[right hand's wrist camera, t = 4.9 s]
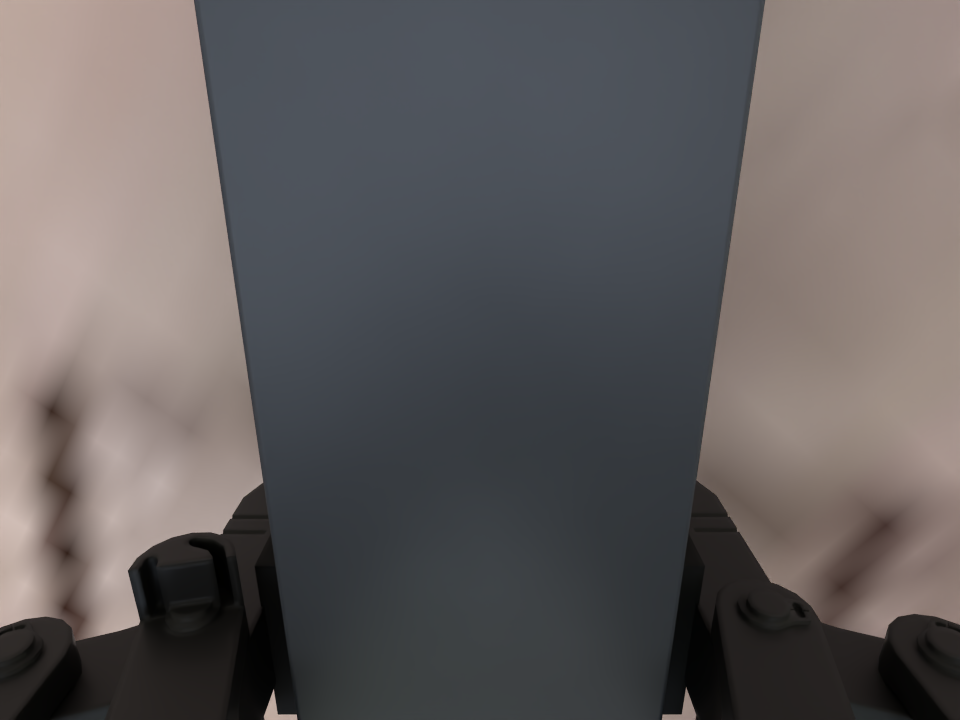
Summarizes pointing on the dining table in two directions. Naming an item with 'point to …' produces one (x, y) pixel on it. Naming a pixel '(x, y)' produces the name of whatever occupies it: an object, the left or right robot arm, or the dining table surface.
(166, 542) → the right robot arm
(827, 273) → the dining table surface
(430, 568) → the bar
